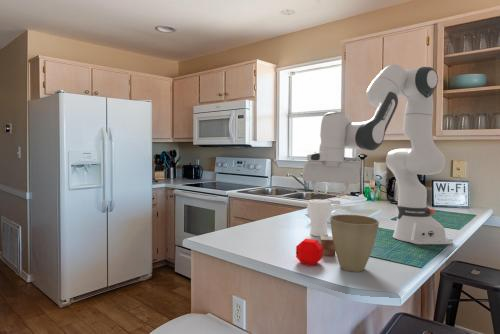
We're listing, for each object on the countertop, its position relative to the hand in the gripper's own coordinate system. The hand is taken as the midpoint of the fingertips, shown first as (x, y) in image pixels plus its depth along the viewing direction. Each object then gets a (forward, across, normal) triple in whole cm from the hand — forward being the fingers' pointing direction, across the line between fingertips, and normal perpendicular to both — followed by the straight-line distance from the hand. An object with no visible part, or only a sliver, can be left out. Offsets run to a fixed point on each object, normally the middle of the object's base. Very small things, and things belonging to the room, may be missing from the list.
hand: (329, 195), depth 125 cm
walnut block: (+22, -1, 0) cm, 22 cm away
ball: (+22, +6, +11) cm, 26 cm away
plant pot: (+22, -7, +14) cm, 27 cm away
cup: (+21, 0, -29) cm, 36 cm away
